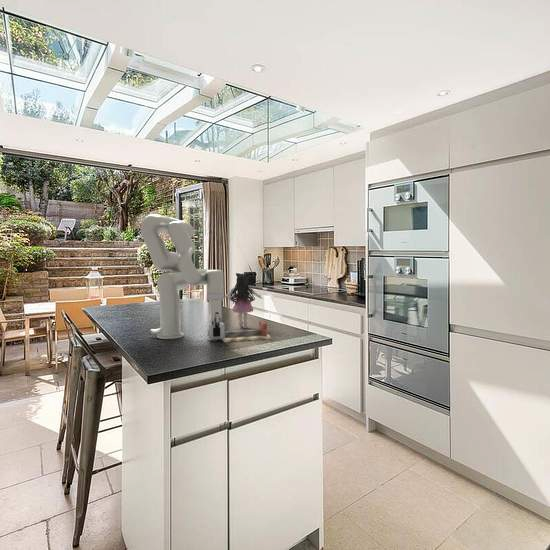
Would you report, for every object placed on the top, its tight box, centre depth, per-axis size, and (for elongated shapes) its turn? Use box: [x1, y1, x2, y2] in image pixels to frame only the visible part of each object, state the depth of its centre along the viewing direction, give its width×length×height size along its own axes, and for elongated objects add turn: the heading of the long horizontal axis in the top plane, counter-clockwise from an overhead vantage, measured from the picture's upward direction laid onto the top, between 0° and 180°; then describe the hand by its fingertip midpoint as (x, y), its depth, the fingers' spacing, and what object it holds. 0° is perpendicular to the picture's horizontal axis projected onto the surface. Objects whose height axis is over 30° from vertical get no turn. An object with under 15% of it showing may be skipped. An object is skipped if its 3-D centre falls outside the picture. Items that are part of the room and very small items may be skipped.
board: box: [221, 320, 272, 343], centre depth 175 cm, size 22×10×7 cm, turn 107°
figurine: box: [224, 272, 264, 329], centre depth 199 cm, size 22×10×30 cm, turn 84°
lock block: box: [207, 321, 225, 339], centre depth 171 cm, size 7×6×6 cm
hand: (215, 334), depth 171 cm, fingers closed on lock block, 6 cm apart
